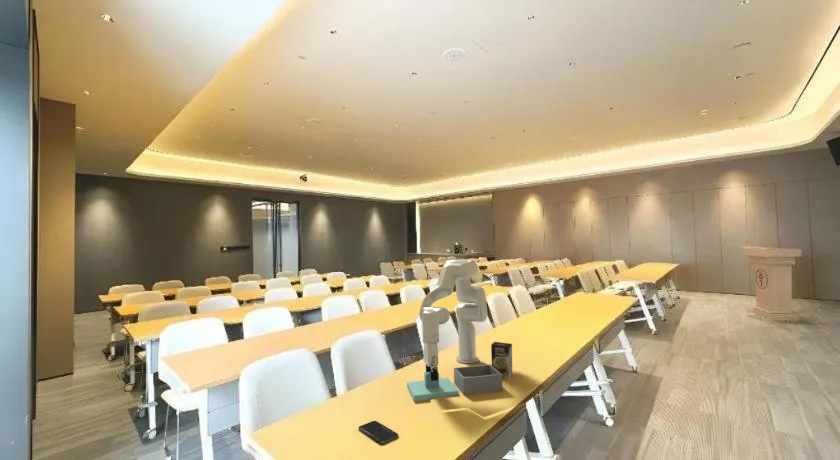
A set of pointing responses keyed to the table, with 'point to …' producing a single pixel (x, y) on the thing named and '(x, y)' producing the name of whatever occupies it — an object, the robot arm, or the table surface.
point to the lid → (431, 388)
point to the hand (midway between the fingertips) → (431, 376)
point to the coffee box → (502, 358)
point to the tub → (478, 379)
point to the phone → (378, 432)
